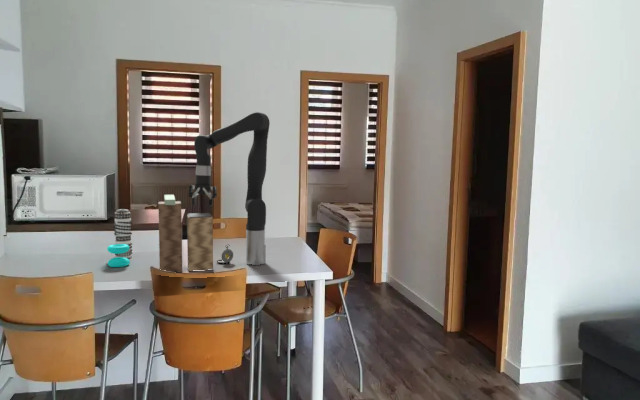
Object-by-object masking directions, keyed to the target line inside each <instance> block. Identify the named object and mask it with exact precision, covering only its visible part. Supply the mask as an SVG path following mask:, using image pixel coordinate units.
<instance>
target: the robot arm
mask: <svg viewBox="0 0 640 400" xmlns="http://www.w3.org/2000/svg"><path fill="white" fill-rule="evenodd" d="M270 122H271V121H270V119H269V116H268V115H267V114H265V113H264V112H259V111H255V112H252V113H250V114H248V115H246V116H244V117H243V118H241V119H239V120H238V121H235V122H233V123H230V124H229V125H226V126H224V127H221V128H219V129H216V130H214V131H212V133H211V134H207V135H204V134H199V135H197V136H196V137H195V140H194V151H195V155H196V167H195V185H193V184H190V185H189V188H188V197H189V198H191V201H192V206H194V207H196V206H197V197H198V195H205V196H207V197H208V198H209V199H208V207H212V206H213V205H214V199H216V198H217V194H218V193H217V186H211V180H212V179H211V177H212V176H211V175H212V171H211V170H212V168H211V162H212V159H211V158H212V157H211V155H210V154H209V153H208V150H211V149H213V148H215V147H217V146H219V145H220V144H223V143H225V142H229V141H230V140H233V139H234V138H236V137H238V136H239V135H242V134H243V133H247V132H253V140H252V145H251V147H250V150H249V153H248V158H247V169H246V170H247V190H246V191H247V192H246V198H245V207H244V209H245V210H246V213H247V220H246V225H245V228H246V229H245V234H246V235H245V236H246V237H245V238H246V239H245V242H246V243H245V247H246V249H245V255H246V257H245V258H246V259H245V262H246V263H247V265H249V264H252V265H251V266H259V265H260V264H261V265H266V262H267V260H266V258H267V257H266V256H267V253H266V249H267V247H266V244H265V242H266V241H265V239H266V238H265V237H266V236H265V235H266V234H265V233H266V224H267V223H266V222H267V205H266V203H265V201H264V200H263V192H262V191H263V185H264V181H265V177H266V173H267V154H268V152H267V151H268V138H269V131H270V130H269V129H270ZM194 190H195V191H194ZM211 191H212V192H211ZM246 263H245V264H246Z"/></svg>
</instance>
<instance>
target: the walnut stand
mask: <svg viewBox="0 0 640 400" xmlns="http://www.w3.org/2000/svg"><path fill="white" fill-rule="evenodd" d="M182 224H183V223H182V202H181V200H177V201H176V200H175V205H165V201H158V242H159V243H158V250H159V251H158V252H159V254H158V255H159V270H160V269H161V270H166V271H177V272H176V273H180V271H182V272H183V231H182V230H183V229H182Z"/></svg>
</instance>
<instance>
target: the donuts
mask: <svg viewBox="0 0 640 400" xmlns="http://www.w3.org/2000/svg"><path fill="white" fill-rule="evenodd" d="M106 250H107V251H108V253H110V254H114V255H115V254H121V253H125V252H127V251H128V250H129V246H128V245H126V244H116V243H114V244H110V245H108V246H107V248H106ZM130 264H131V261H130V259H129V258H125V257H116V258H115V257H113V258H110V259H109V260H108V261H107V266H109V267H111V268H123V267H127V266H128V265H130Z"/></svg>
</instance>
